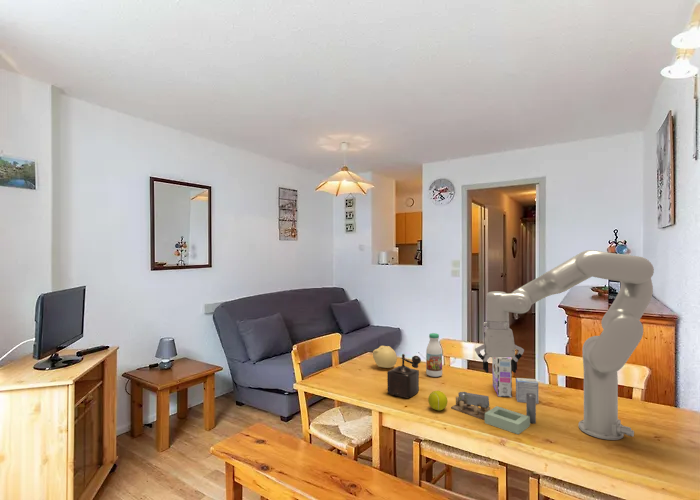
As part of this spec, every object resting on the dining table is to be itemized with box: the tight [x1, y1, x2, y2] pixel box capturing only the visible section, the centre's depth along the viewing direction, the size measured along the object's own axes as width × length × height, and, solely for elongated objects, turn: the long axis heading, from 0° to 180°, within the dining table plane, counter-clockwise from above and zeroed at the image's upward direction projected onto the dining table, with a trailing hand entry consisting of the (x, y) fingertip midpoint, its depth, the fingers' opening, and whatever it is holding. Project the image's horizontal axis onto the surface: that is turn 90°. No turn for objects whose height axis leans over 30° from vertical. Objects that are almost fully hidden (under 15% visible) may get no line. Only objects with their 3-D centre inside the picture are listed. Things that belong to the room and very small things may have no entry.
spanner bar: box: [457, 391, 490, 408], centre depth 144 cm, size 12×3×4 cm, turn 42°
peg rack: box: [450, 396, 491, 421], centre depth 144 cm, size 14×7×4 cm, turn 42°
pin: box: [525, 393, 537, 425], centre depth 135 cm, size 3×3×10 cm
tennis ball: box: [427, 390, 448, 411], centre depth 146 cm, size 7×7×7 cm
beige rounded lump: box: [372, 345, 398, 369], centre depth 200 cm, size 11×12×11 cm
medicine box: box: [515, 377, 540, 405], centre depth 154 cm, size 8×4×9 cm, turn 74°
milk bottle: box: [425, 332, 443, 378], centre depth 187 cm, size 8×8×20 cm
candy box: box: [491, 357, 513, 398], centre depth 165 cm, size 14×6×16 cm, turn 168°
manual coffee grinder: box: [386, 353, 422, 399], centre depth 162 cm, size 16×11×18 cm
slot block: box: [484, 405, 531, 435], centre depth 133 cm, size 12×9×4 cm
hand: (500, 371), depth 140 cm, fingers open, 9 cm apart
